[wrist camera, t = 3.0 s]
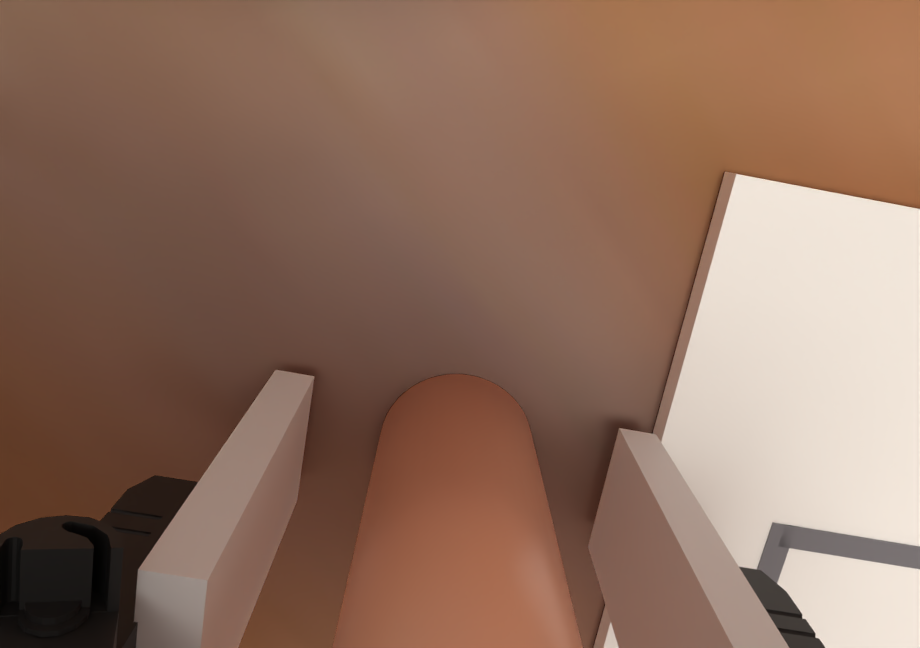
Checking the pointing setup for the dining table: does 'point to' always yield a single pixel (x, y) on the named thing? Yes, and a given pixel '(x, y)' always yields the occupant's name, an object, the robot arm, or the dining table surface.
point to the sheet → (807, 403)
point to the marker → (456, 530)
